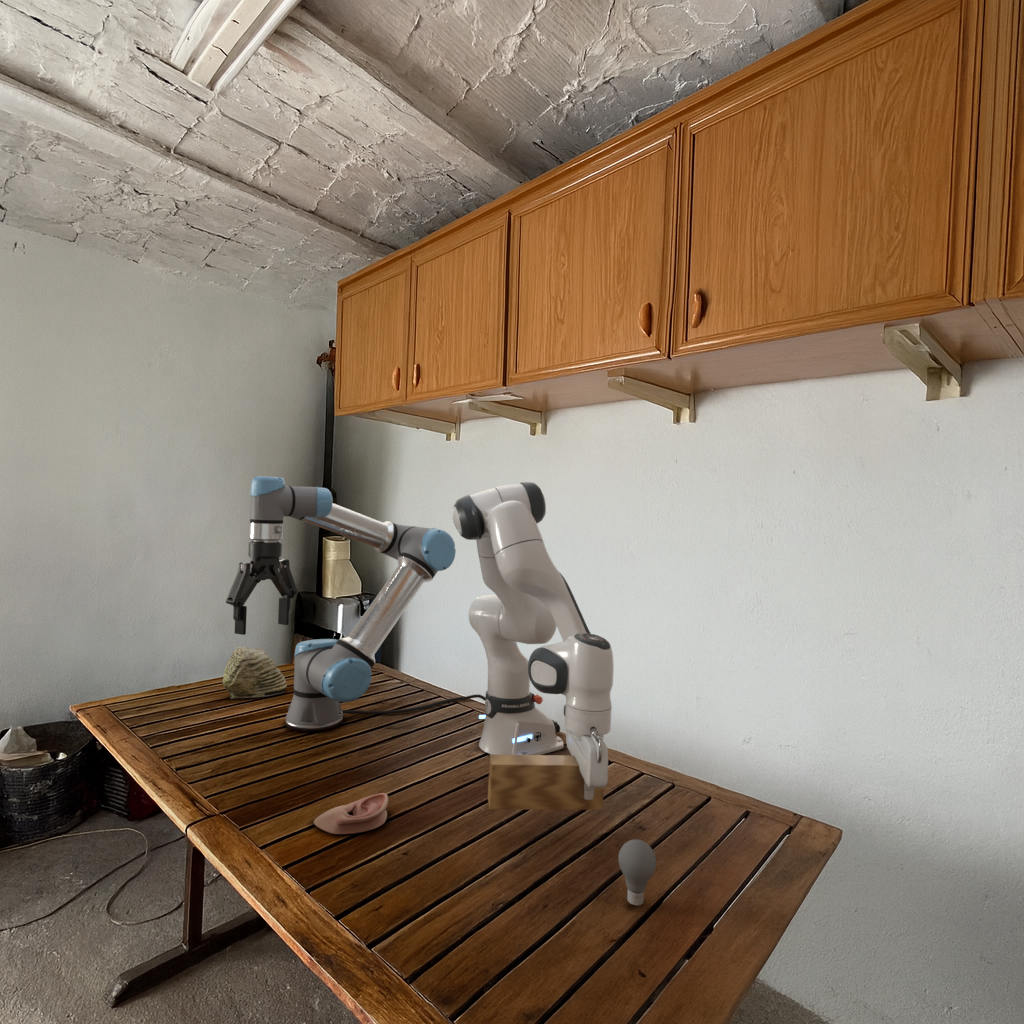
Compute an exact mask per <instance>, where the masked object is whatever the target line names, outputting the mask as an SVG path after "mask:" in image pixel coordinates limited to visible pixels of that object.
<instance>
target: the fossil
mask: <svg viewBox="0 0 1024 1024" xmlns="http://www.w3.org/2000/svg"><path fill="white" fill-rule="evenodd" d="M222 676H223V677H222V685H223V687H224V688H225V690H226V691H228V693H229V698H230V699H250V698H264V697H271V696H275V695H281V694H284V693H285V691H286V689H287V687H288V686H287V680H286V678H285V676H284V674H283V673H282V672H281V669H279V668H278V667H277V665H276V663H275V662H274V660H273V659H272V658H271V657H270V656H269V655H268V654H267V653H266V652H265V650H264V649H263V648H260V647H258V648H251V647H247V646H246V647H245V646H238V647H237V648H236V649H235V650H233V651H232V653H231V656H230V657H229V659H228V660H227V663H226V666H225V668H224V671H223V675H222Z"/></svg>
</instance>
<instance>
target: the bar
mask: <svg viewBox="0 0 1024 1024" xmlns="http://www.w3.org/2000/svg"><path fill="white" fill-rule="evenodd" d="M488 768H489V770H488V785H487V786H488V787H487V802H488V807H489V810H537V811H538V810H542V811H543V810H547V811H548V810H549V811H550V810H553V811H557V810H559V811H560V810H561V811H562V810H563V811H572V810H573V811H603V808H604V805H603V804H604V793H605V788H595V789H594V797H593V799H592V800H586V799H584V796H583V787H584V783H585V782H584V778H583V776H582V774H581V773H580V770H579V764H578V762H577V760H576V758H575V757H574V756H572V755H565V754H564V755H562V754H561V755H560V754H559V755H557V754H556V755H555V754H547V755H546V754H542V755H494V754H489V767H488Z"/></svg>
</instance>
